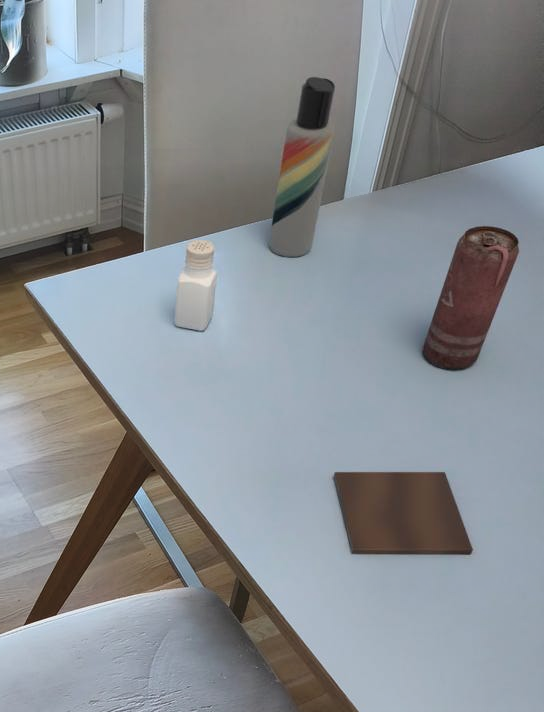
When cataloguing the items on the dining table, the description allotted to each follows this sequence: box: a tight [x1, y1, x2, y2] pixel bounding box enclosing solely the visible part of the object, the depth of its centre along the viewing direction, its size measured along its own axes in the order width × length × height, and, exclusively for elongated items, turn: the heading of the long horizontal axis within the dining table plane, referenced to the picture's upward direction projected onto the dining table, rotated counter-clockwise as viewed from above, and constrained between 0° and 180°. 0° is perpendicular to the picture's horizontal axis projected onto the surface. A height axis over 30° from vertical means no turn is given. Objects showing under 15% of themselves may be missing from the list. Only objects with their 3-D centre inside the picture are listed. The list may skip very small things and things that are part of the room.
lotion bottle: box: [268, 76, 336, 258], centre depth 111 cm, size 6×6×20 cm
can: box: [422, 225, 520, 371], centre depth 96 cm, size 6×6×14 cm
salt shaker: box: [174, 239, 218, 332], centre depth 104 cm, size 4×4×10 cm
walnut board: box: [333, 471, 474, 555], centre depth 85 cm, size 11×11×1 cm
